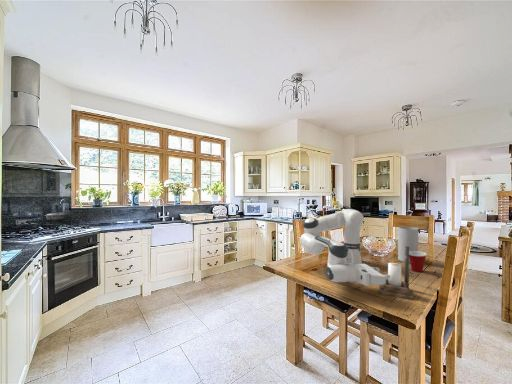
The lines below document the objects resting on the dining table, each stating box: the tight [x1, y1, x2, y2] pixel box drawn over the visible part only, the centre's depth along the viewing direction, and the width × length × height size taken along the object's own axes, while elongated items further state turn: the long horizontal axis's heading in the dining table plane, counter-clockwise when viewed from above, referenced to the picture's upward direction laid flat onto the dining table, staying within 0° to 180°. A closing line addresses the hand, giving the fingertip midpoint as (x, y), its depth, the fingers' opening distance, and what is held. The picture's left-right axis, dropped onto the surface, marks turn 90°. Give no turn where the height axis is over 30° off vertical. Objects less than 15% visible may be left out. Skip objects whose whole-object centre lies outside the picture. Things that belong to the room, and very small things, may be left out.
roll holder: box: [378, 246, 414, 301], centre depth 121 cm, size 14×14×23 cm
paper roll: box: [387, 262, 402, 287], centre depth 121 cm, size 6×6×13 cm
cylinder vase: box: [397, 226, 419, 264], centre depth 172 cm, size 12×12×25 cm
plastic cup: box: [409, 250, 428, 273], centre depth 151 cm, size 11×11×12 cm
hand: (383, 272), depth 120 cm, fingers open, 8 cm apart
